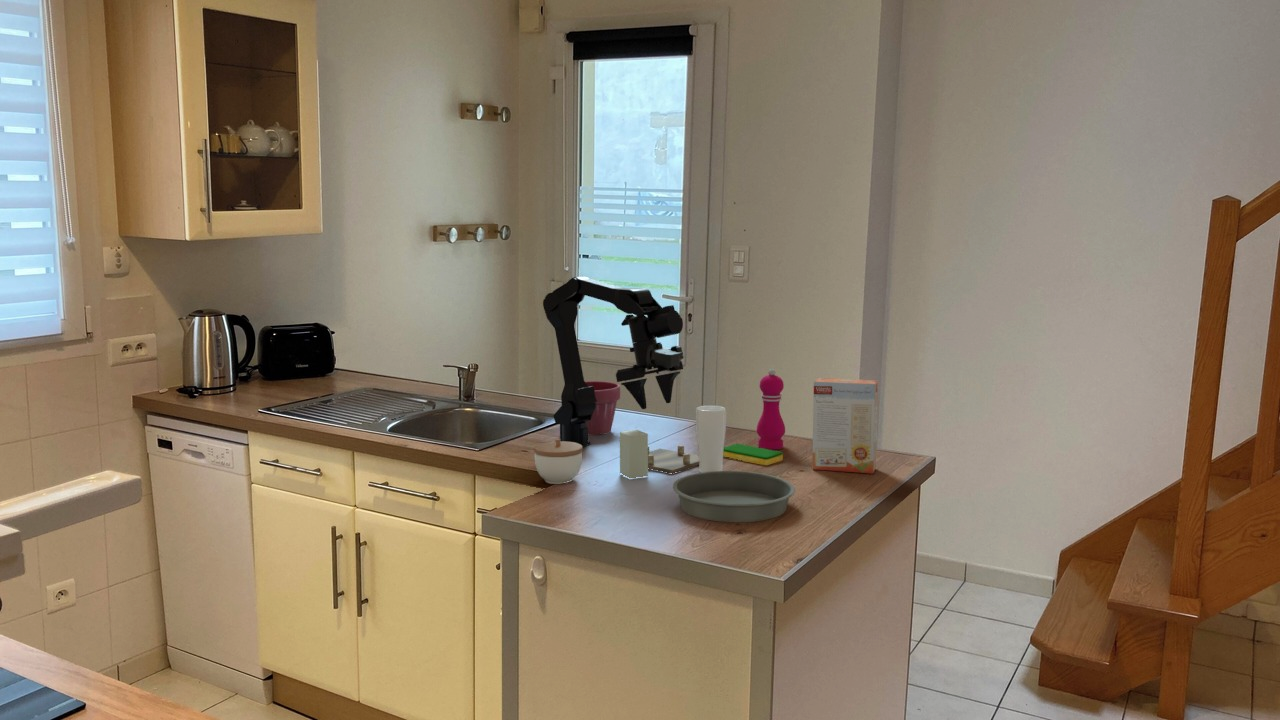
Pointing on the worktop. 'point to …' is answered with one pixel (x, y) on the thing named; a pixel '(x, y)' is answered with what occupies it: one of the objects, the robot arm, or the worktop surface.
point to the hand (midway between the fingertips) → (656, 406)
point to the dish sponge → (753, 454)
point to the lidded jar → (558, 460)
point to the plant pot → (603, 406)
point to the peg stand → (671, 460)
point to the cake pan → (733, 495)
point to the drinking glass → (710, 437)
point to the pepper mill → (771, 413)
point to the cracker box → (845, 425)
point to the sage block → (634, 453)
